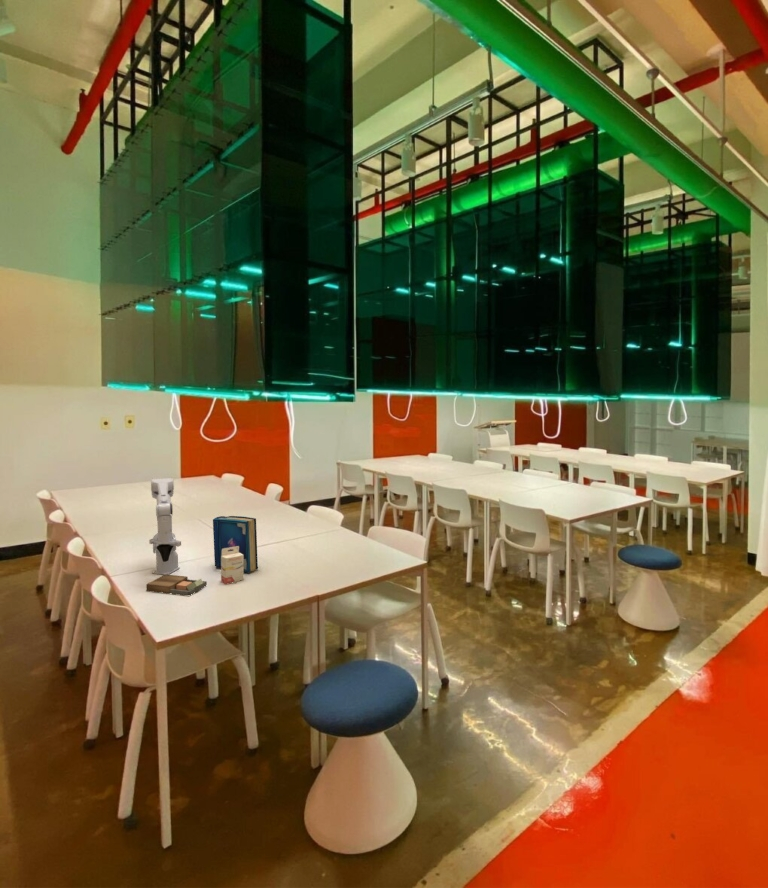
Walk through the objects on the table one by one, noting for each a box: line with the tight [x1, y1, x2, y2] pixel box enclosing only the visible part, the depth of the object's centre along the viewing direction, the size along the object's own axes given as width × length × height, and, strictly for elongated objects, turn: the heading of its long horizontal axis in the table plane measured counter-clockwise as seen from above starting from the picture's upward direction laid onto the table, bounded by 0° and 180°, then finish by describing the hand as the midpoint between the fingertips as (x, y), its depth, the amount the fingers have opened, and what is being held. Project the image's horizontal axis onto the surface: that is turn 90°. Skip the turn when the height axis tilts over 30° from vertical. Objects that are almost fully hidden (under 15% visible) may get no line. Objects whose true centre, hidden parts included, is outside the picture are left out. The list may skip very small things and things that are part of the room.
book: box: [212, 515, 259, 574], centre depth 231 cm, size 22×7×25 cm, turn 68°
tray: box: [170, 579, 207, 596], centre depth 206 cm, size 12×9×2 cm
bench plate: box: [145, 574, 188, 594], centre depth 208 cm, size 12×11×3 cm
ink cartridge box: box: [220, 546, 245, 585], centre depth 216 cm, size 9×5×15 cm, turn 131°
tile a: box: [176, 581, 192, 591], centre depth 206 cm, size 4×4×2 cm
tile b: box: [187, 578, 204, 591], centre depth 205 cm, size 4×4×2 cm
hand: (165, 561), depth 213 cm, fingers closed
